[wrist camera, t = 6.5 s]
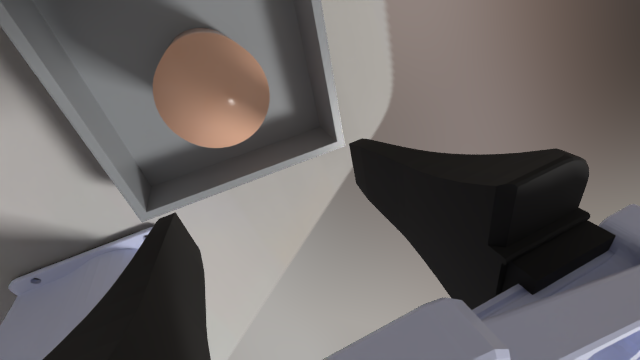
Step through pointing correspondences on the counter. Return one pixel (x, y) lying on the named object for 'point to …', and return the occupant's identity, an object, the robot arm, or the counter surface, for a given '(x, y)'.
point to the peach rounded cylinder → (210, 89)
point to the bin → (137, 88)
